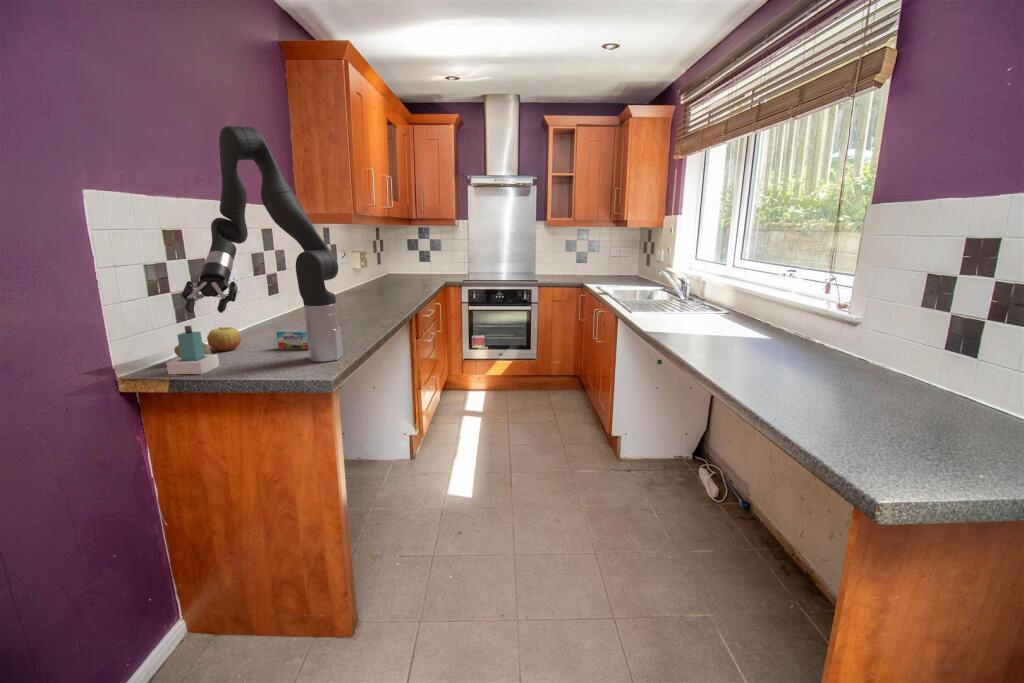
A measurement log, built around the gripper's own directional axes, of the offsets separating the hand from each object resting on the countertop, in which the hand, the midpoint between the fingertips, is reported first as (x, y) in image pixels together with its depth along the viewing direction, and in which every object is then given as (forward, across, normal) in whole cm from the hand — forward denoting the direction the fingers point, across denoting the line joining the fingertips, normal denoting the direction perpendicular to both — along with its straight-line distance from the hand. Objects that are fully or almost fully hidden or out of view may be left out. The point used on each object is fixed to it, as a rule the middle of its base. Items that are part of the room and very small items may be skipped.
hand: (204, 311), depth 140 cm
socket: (+17, -1, +5) cm, 18 cm away
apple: (0, -3, +24) cm, 24 cm away
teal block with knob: (+17, 0, +5) cm, 18 cm away
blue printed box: (+2, +21, +21) cm, 29 cm away
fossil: (+10, -5, +13) cm, 17 cm away
